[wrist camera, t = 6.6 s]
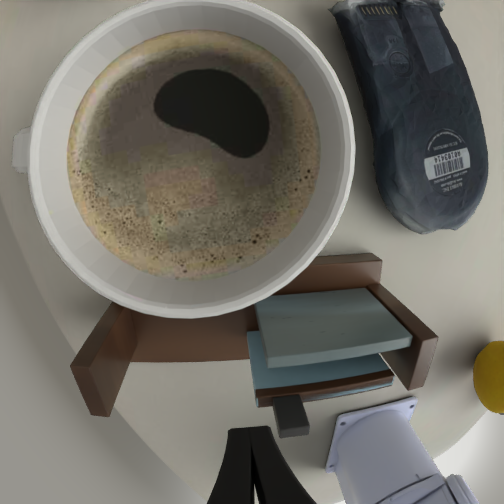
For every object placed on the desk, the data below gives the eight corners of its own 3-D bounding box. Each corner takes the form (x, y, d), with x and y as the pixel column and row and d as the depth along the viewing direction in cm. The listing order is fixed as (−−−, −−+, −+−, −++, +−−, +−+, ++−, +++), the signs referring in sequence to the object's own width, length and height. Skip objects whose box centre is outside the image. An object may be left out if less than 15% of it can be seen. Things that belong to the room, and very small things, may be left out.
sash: (353, 329, 18) (409, 412, 11) (247, 340, 18) (261, 441, 11) (354, 319, 18) (414, 401, 11) (246, 330, 18) (261, 431, 10)
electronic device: (302, 32, 16) (385, 253, 18) (335, -18, 10) (445, 266, 13) (405, 27, 17) (472, 209, 19) (447, -4, 11) (527, 210, 14)
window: (362, 333, 21) (415, 407, 13) (133, 349, 20) (101, 435, 12) (372, 252, 19) (446, 307, 11) (116, 267, 18) (58, 335, 10)
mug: (316, 154, 17) (416, 155, 7) (202, 272, 18) (183, 385, 9) (179, 31, 14) (140, -73, 5) (71, 153, 16) (-50, 162, 6)
